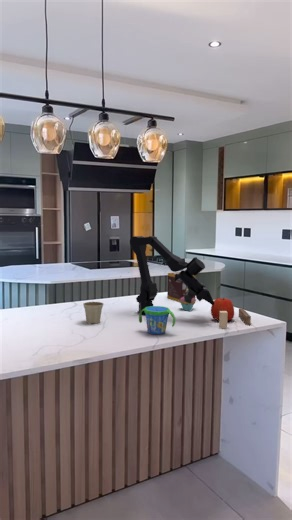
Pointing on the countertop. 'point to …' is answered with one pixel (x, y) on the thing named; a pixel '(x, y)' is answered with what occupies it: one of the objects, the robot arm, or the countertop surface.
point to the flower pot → (93, 311)
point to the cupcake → (186, 305)
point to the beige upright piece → (222, 319)
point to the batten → (245, 316)
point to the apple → (222, 308)
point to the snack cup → (156, 318)
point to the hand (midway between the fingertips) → (213, 304)
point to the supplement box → (176, 287)
